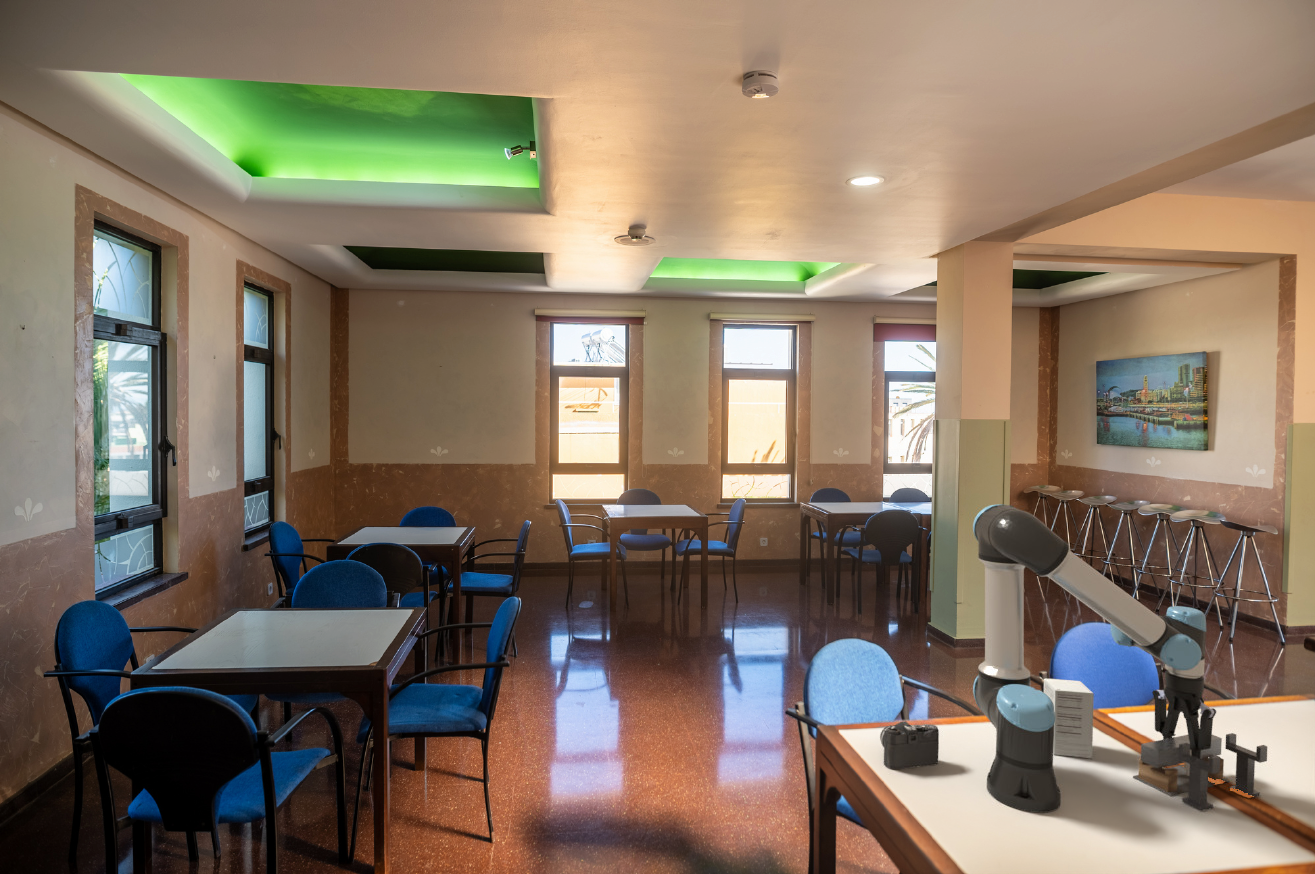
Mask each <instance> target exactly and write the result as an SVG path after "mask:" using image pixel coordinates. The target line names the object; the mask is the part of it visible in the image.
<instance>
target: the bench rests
mask: <svg viewBox="0 0 1315 874" xmlns="http://www.w3.org/2000/svg"><path fill="white" fill-rule="evenodd" d="M1201 760H1203V761H1205V762H1208V763H1209V757H1208V758H1203V759H1201ZM1224 760H1225V759H1223V758H1221V757H1220V772H1219V773H1215V774H1211V773H1209V772H1208V777H1209V778H1212V779H1214V780H1216V779H1221V780H1223V781H1225V782H1228V783H1230V780H1228V779H1227V778H1224V766H1225V764H1224ZM1183 766H1184V767H1183ZM1185 768H1186V762H1185V763H1183V764H1181V765H1175V766H1170V767H1167V768H1165V767H1162V768H1158V769H1157V768H1155V767H1153V766H1151V765H1149V764H1147V763H1145V762H1143V761H1141V757H1139V759H1138V774H1136V775H1132V779H1135V780H1137V781H1139V782H1141V783H1142V784H1144V785H1147V786H1148V787H1151V788H1153V789H1154V790H1157V791H1159V792H1160V793H1163V794H1165V795H1167V796H1169V797H1175V796H1178V795H1182V794H1188V793H1189V776H1188V775H1186V774H1185V773H1186V769H1185ZM1214 784H1215V783H1211V782H1209V781H1208V785H1207V789H1208V788H1212V787H1214V786H1213V785H1214Z"/></svg>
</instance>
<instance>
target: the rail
mask: <svg viewBox="0 0 1315 874" xmlns="http://www.w3.org/2000/svg"><path fill="white" fill-rule="evenodd" d="M1173 737H1174V738H1169V739H1164V740H1163V739H1159V740H1156V741H1155V740H1154V741H1148V742H1145V743H1144V742H1143V743H1141V745H1140V758H1141V761H1143V762H1145V763H1147V764H1149V765H1151V766H1153V767H1155V768H1157V769H1158V768H1166V767H1167V768H1168V766H1169V767H1172V766H1171V765H1173V766H1177V765H1179V764H1181V765H1182V764H1184V763H1185V762H1184V761H1182V760H1180V759H1179V744H1183V743H1188V744H1190V742H1189V736H1188V734H1184V735H1178V736H1176V737H1175V736H1173ZM1222 739H1223V738H1222V737H1220V736H1217V735H1215V734H1212V737H1211V748H1210V749H1205V750H1201V759H1203V758H1209V757H1211V756H1216V755H1217V756H1221V755H1222Z"/></svg>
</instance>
